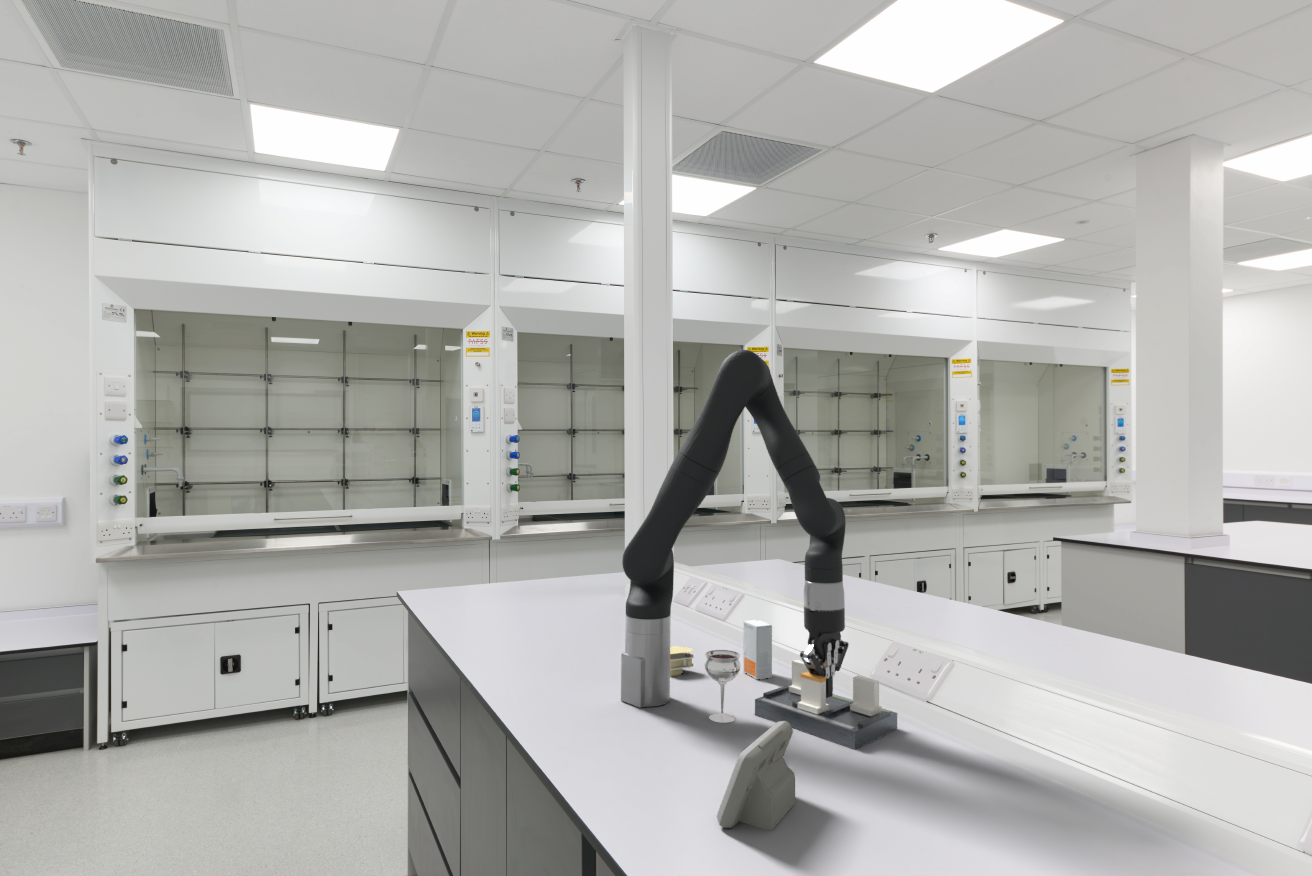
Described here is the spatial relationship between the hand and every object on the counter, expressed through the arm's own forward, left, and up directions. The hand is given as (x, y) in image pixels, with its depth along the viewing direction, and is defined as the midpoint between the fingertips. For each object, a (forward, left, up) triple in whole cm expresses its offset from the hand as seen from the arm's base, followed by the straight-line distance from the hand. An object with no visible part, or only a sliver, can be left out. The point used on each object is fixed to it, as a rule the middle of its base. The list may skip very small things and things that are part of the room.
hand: (825, 696), depth 137 cm
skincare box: (+12, +27, -5) cm, 30 cm away
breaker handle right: (+2, -7, -1) cm, 8 cm away
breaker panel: (-1, 0, -5) cm, 5 cm away
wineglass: (-14, +14, -5) cm, 20 cm away
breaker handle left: (+2, +7, -1) cm, 7 cm away
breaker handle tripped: (-4, 0, -1) cm, 4 cm away
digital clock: (-36, -14, -5) cm, 39 cm away
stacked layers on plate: (0, +40, -5) cm, 41 cm away
